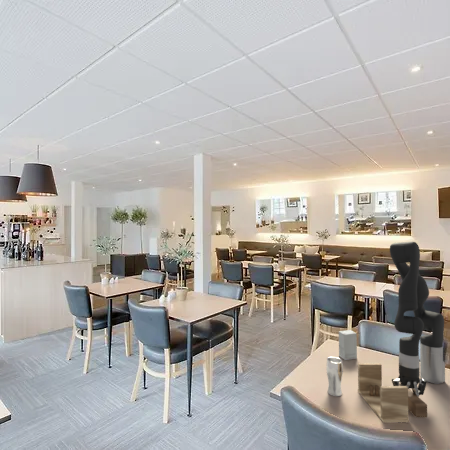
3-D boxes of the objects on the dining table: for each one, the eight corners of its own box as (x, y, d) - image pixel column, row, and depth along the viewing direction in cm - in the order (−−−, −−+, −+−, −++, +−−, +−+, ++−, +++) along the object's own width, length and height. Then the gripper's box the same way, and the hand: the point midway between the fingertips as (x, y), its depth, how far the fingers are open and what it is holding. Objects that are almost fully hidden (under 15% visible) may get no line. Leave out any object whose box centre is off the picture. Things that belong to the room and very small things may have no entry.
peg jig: (357, 391, 138) (357, 362, 138) (379, 391, 138) (379, 362, 138) (383, 422, 116) (383, 389, 116) (409, 422, 116) (408, 388, 116)
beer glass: (329, 387, 142) (329, 355, 142) (345, 392, 138) (344, 359, 138) (324, 393, 137) (324, 360, 137) (339, 399, 132) (339, 364, 132)
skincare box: (350, 354, 177) (350, 329, 177) (357, 359, 171) (357, 332, 171) (338, 356, 175) (338, 330, 175) (344, 360, 169) (344, 334, 169)
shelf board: (393, 394, 135) (393, 383, 135) (403, 394, 135) (402, 383, 135) (416, 417, 119) (416, 404, 119) (427, 417, 119) (427, 404, 119)
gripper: (419, 359, 131) (420, 398, 131) (387, 359, 131) (387, 399, 131) (431, 367, 124) (432, 409, 124) (397, 367, 124) (397, 409, 124)
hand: (409, 403), depth 127 cm, fingers closed on shelf board, 4 cm apart
